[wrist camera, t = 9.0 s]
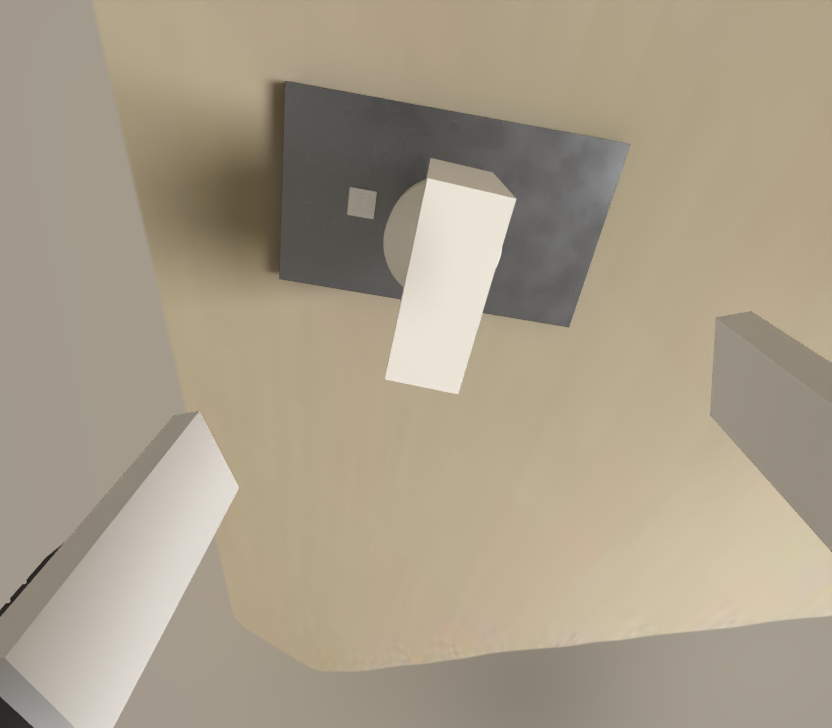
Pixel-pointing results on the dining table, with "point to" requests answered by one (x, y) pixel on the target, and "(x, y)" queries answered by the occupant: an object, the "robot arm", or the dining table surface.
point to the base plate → (408, 164)
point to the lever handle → (443, 270)
